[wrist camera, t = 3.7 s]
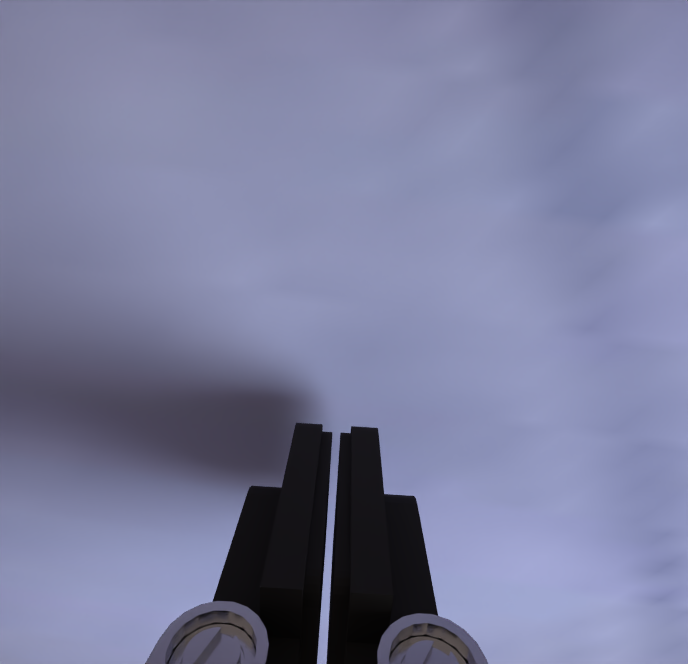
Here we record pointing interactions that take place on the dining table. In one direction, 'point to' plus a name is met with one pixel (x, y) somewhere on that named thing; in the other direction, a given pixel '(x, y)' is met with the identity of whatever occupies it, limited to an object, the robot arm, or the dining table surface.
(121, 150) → the dining table surface
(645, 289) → the dining table surface
